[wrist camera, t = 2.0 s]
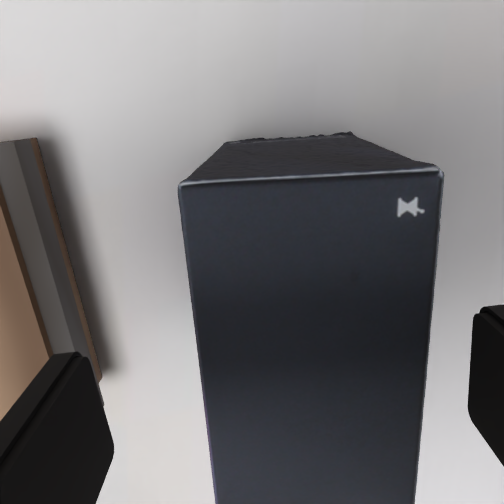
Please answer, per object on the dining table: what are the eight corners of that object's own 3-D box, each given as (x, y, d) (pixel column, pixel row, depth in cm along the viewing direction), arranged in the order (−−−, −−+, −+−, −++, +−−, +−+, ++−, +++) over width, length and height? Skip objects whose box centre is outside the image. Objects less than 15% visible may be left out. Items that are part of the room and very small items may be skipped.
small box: (212, 139, 19) (160, 173, 9) (356, 130, 19) (461, 154, 9) (231, 342, 23) (207, 525, 13) (353, 337, 22) (426, 520, 12)
